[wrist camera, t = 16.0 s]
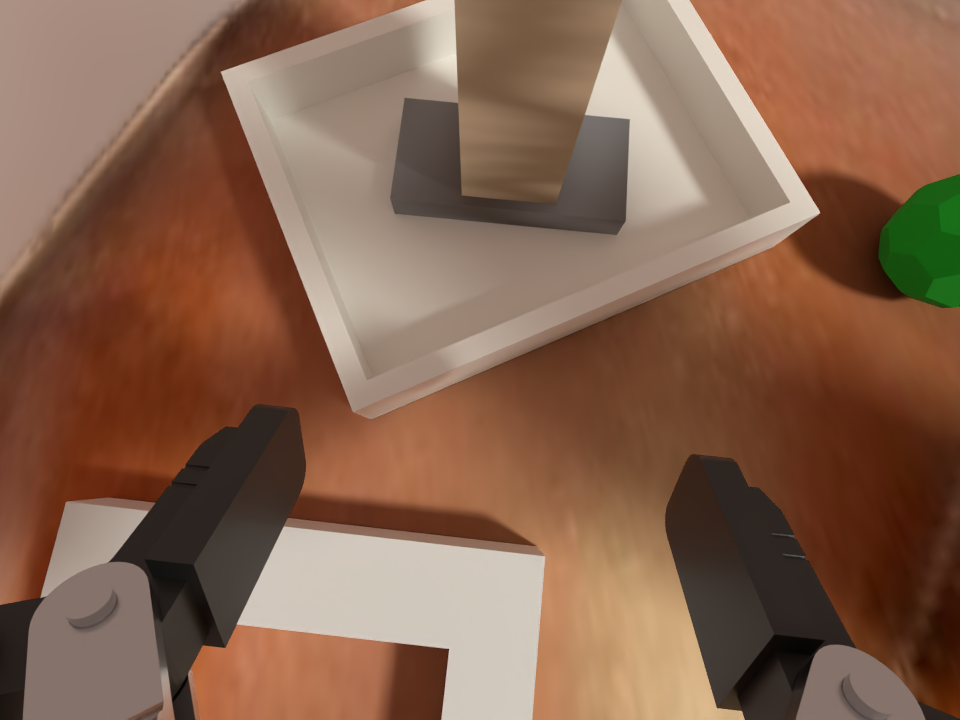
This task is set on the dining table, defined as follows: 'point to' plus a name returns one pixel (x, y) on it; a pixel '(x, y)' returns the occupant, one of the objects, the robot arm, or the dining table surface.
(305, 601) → the slot plate
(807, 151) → the dining table surface
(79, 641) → the robot arm
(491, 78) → the wooden post on base
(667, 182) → the tray
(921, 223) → the polyhedron
